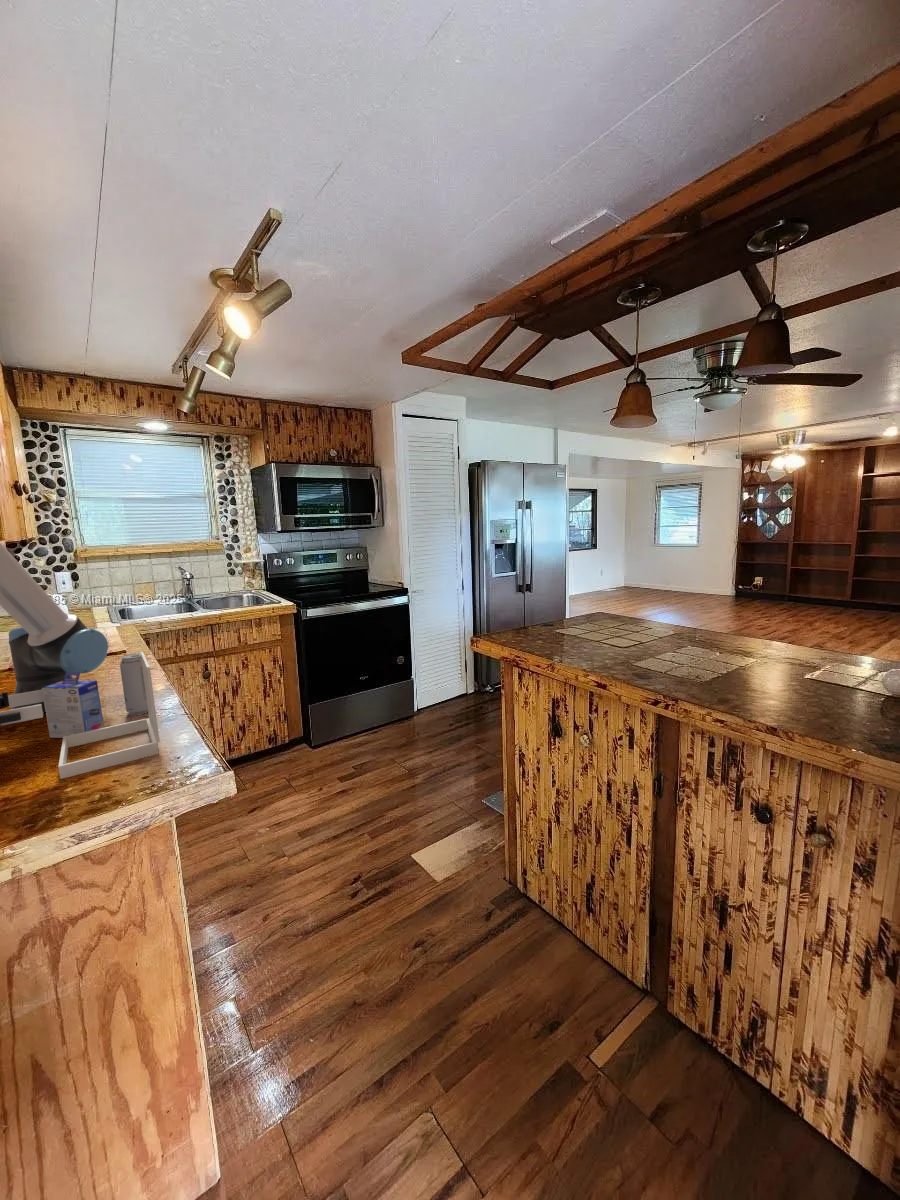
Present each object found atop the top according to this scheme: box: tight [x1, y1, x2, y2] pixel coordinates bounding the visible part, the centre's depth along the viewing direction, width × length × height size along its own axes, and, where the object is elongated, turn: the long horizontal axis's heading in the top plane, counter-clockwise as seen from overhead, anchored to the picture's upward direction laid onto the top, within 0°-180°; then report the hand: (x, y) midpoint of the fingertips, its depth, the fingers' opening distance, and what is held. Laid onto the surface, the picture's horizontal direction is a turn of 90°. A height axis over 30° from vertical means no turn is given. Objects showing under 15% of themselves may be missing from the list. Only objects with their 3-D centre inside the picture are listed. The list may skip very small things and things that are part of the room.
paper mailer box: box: [58, 651, 160, 780], centre depth 103 cm, size 18×16×18 cm
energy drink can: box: [119, 653, 149, 716], centre depth 126 cm, size 6×6×15 cm
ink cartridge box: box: [42, 672, 105, 739], centre depth 113 cm, size 10×6×14 cm, turn 82°
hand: (44, 702), depth 107 cm, fingers open, 13 cm apart
